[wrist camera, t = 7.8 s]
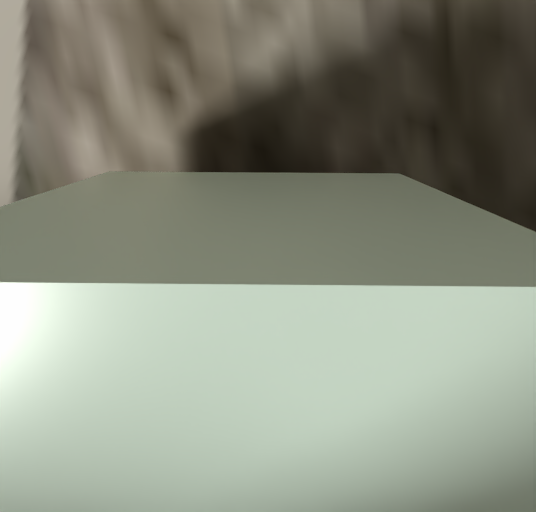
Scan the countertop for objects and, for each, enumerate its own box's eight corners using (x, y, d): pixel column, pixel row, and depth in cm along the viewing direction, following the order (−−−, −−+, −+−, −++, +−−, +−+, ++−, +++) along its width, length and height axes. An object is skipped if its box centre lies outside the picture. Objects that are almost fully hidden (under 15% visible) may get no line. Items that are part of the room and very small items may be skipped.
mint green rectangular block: (109, 171, 9) (-226, 280, 3) (399, 173, 9) (666, 288, 3) (152, 540, 13) (41, 931, 7) (359, 543, 13) (442, 939, 7)
